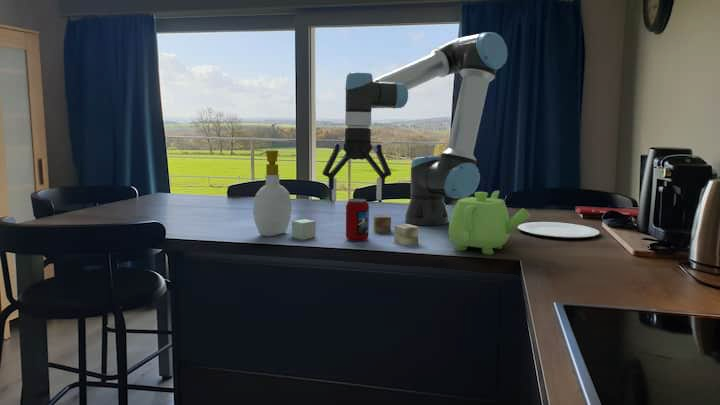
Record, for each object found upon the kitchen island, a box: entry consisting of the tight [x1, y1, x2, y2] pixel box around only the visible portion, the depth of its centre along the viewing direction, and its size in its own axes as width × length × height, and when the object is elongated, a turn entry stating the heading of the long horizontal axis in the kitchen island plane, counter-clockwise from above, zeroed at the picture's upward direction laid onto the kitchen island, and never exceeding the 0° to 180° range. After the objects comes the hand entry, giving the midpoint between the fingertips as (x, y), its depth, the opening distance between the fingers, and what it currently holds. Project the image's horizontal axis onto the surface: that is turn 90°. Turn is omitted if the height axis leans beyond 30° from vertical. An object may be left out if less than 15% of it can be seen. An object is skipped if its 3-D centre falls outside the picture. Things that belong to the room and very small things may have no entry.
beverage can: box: [345, 198, 370, 242], centre depth 159 cm, size 7×7×12 cm
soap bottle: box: [253, 149, 292, 238], centre depth 165 cm, size 14×9×26 cm, turn 146°
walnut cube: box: [373, 214, 392, 234], centre depth 173 cm, size 5×5×5 cm
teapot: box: [448, 190, 531, 255], centre depth 149 cm, size 25×22×16 cm
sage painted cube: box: [291, 218, 316, 240], centre depth 163 cm, size 5×5×5 cm
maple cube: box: [393, 223, 420, 246], centre depth 156 cm, size 5×5×5 cm
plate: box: [517, 221, 601, 240], centre depth 173 cm, size 25×25×2 cm
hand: (356, 200), depth 158 cm, fingers open, 13 cm apart
